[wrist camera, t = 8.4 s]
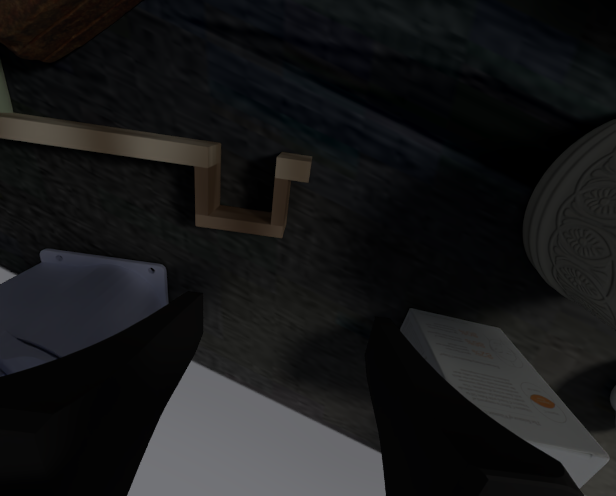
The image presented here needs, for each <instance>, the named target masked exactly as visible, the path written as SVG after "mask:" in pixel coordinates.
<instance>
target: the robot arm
mask: <svg viewBox="0 0 616 496" xmlns="http://www.w3.org/2000/svg"><path fill="white" fill-rule="evenodd" d="M60 256H61V257H62V258H61V257H60ZM40 258H41V263H39V264H38V265H36V266H34V267H32V268H30V269H28V270H26V271H24V272H23V273H21V274H19V275H17V276H15V277H13V278H11V279H9V280H8V281H6V282H4V283H2V284H0V496H127V494H128V492H129V489H130V487H131V484H132V482H133V479H134V477H135V474H136V472H137V469H138V467H139V465H140V462H141V460H142V458H143V455H144V453H145V450H146V448H147V446H148V443H149V441H150V439H151V437H152V434H153V432H154V430H155V427H156V425H157V423H158V421H159V418H160V416H161V414H162V412H163V410H164V408H165V406H166V405H167V403H168V401H169V399H170V397H171V395H172V394H173V392H174V390H175V388H176V387H177V385H178V383H179V381H180V380H181V378H182V376H183V374H184V373H185V371H186V369H187V367H188V365H189V363H190V362H191V360H192V358H193V356H194V354H195V352H196V350H197V347H198V345H199V342H200V340H201V337H202V335H203V293H197V292H190V291H188V292H186V293H184V294H183V295H181V296H180V297H178V298H176V299H175V300H173V301H172V302H170V303H169V302H168V286H167V271H166V268H165V266H163V265H162V264H157V263H150V262H143V261H135V260H128V259H121V258H114V257H106V256H99V255H92V254H84V253H77V252H70V251H63V250H55V249H44V250H42V251H41V252H40ZM151 268H153V269H154V270H155V271H152V270H151ZM365 361H366V373H367V380H368V385H369V390H370V395H371V400H372V404H373V409H374V414H375V418H376V423H377V428H378V432H379V438H380V444H381V453H382V461H383V470H384V480H385V490H386V496H584V495H583V494H582V492H581V491H580V489H579V488H578V486H577V485H576V483H575V482H574V481H573V479H572V478H571V476H570V475H569V473H568V472H567V470H566V469H565V467H564V466H563V465H562V463H561V462H560V461H558V460H556V459H555V458H553V457H551V456H550V455H548V454H546V453H545V452H543V451H542V450H540V449H538V448H537V447H535V446H533V445H532V444H530V443H528V442H527V441H525V440H523V439H522V438H520V437H519V436H517V435H516V434H514V433H513V432H511V431H510V430H508V429H507V428H505V427H504V426H502V425H501V424H500V423H498V422H497V421H495V420H494V419H493V418H491V417H490V416H488V415H487V414H486V413H484V412H483V411H482V410H481V409H479V408H478V407H477V406H475V405H474V404H473V403H472V402H470V401H469V400H468V399H467V398H465V397H464V396H463V395H462V394H461V393H459V392H458V391H457V390H456V389H455V388H454V387H453V386H452V385H450V384H449V383H448V382H447V381H446V380H445V379H444V378H443V377H442V376H441V375H440V374H439V373H438V372H437V371H436V370H435V369H434V368H433V367H432V366H431V365H430V364H429V363H428V362H427V361H426V360H425V359H424V358H423V357H422V356H421V354H420V353H419V352H418V351H417V350H416V349H415V348H414V347H413V345H412V344H411V343H410V342H409V341H408V340H407V338H406V337H405V336H404V335H403V334H402V332H401V331H400V330H399V329H398V328H397V326H396V325H395V324H394V323H393V322H392V320H391V319H389V318H381V317H375V320H374V324H373V327H372V331H371V334H370V338H369V342H368V345H367V349H366V352H365Z"/></svg>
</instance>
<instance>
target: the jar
mask: <svg viewBox="0 0 616 496" xmlns="http://www.w3.org/2000/svg"><path fill="white" fill-rule="evenodd" d="M523 243H524V248H525V251H526V254H527V256H528V258H529V260H530V262H531V264H532V265H533V266H534V268H535V269H536V270H537V271H538V273H539V274H540V276H541V277H542V278H543V279H544V280H545V282H546V283H548V284H549V285H550V286H551V287H552V288H554V289H555V290H556V291H558V292H559V293H560V294H561V295H563V296H564V297H566V298H567V299H569V300H571V301H573V302H575V303H578V304H580V305H581V306H583V307H584V308H585V309H587V310H588V311H589V312H591V313H592V314H593V315H595V316H596V317H597V318H599V319H600V320H602V321H603V322H604V323H606V324H607V325H608V326H610V327H611V328H612V329H614V330H615V331H616V119H613V120H611V121H609V122H607V123H605V124H603V125H601V126H599V127H597V128H595V129H594V130H592V131H590V132H589V133H587V134H586V135H584V136H583V137H581V138H580V139H579V140H577V141H576V142H575V143H573V144H572V145H571V146H570V147H569V148H567V149H566V150H565V151H564V152H563V153H562V154H561V155H560V156H559V157H558V158H557V159H556V160H555V161H554V162H553V163H552V165H551V166H550V167H549V168H548V170H547V171H546V172H545V173H544V175H543V176H542V178H541V179H540V181H539V182H538V184H537V186H536V187H535V189H534V191H533V193H532V195H531V197H530V200H529V202H528V205H527V208H526V211H525V215H524V220H523Z"/></svg>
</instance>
